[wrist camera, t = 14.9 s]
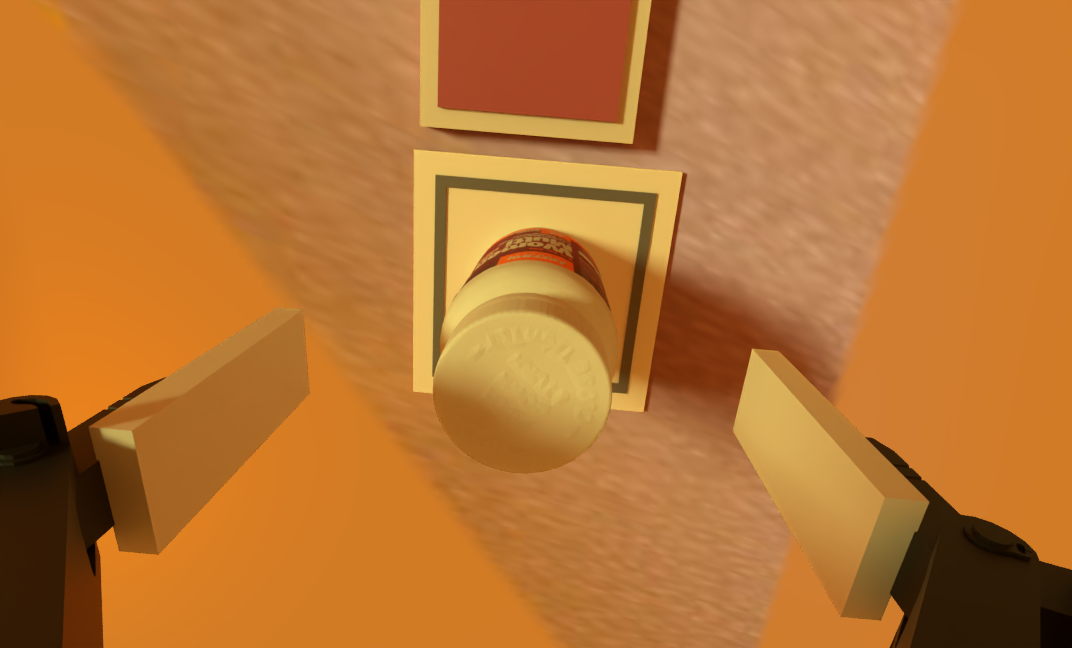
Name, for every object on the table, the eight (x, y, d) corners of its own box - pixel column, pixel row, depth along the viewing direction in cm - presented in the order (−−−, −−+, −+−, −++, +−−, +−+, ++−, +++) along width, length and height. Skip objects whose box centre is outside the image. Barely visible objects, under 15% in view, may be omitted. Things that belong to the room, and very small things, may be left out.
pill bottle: (569, 203, 24) (579, 251, 13) (621, 319, 26) (665, 445, 15) (451, 258, 25) (372, 345, 15) (508, 367, 27) (475, 515, 16)
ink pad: (429, -152, 20) (419, -174, 19) (665, -134, 20) (673, -155, 19) (426, 126, 24) (417, 126, 22) (629, 143, 23) (633, 143, 22)
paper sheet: (415, 149, 24) (413, 149, 24) (681, 171, 24) (683, 172, 23) (414, 389, 28) (412, 392, 27) (642, 410, 28) (643, 412, 27)
